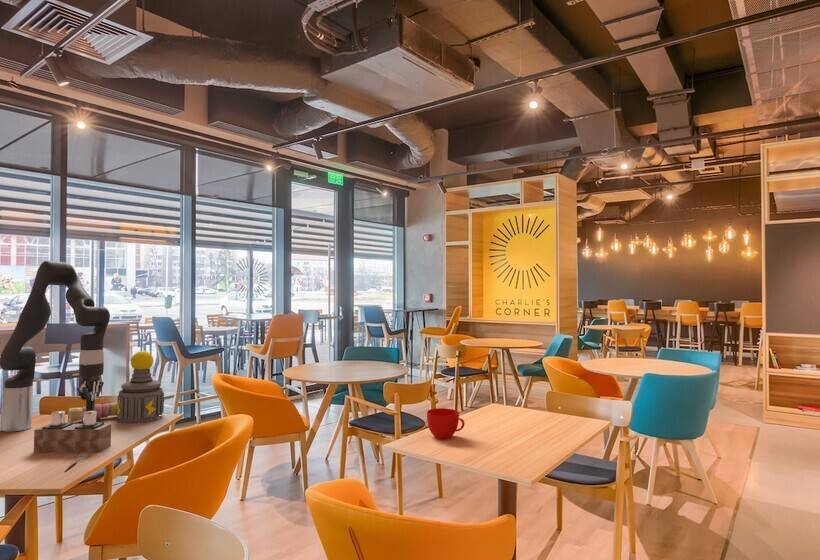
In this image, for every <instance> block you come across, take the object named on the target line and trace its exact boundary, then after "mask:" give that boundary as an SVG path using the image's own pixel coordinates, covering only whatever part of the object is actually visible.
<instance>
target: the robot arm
mask: <svg viewBox="0 0 820 560" xmlns="http://www.w3.org/2000/svg"><path fill="white" fill-rule="evenodd" d="M49 286H61V287H62V286H65V287H67V290H66V293H65V299H66V302H67V303H68V305H69V306H70V308H71V309H72V310H73V313H74V317H75V318H74V319H75V322H76V324H77V325H79V326H80V327H94V328H93V330H92V331H90V332H86V333H83V334H82V335H81V336H80V348H79V349H80V351H79V359H78V361H79V362H78V376H79V377H81V378H82V379H81V386H79V387H77V393H78V394H79V396H80V398H81V400H82V401H85V406H86V411H93V410H94V409H95V404H96V401H95V400H97V398H98V397H99V396H100V394H101V391H102V389H103V387H104V381H101V376H103V375H104V370H105V369H104V365H105V363H104V361H105V355H104V354H105V353H104V338H105V336H106V335H105V334H106V330H107V328H108V325H109V323H110V319H111V314H110V311H109V309H108V308H107V307H105V306H95V300H94V299H93V298H92V297H91V295H90V294H89V293H88V291H86V290H85V288H84V286H83V284H82V282H81V279H80V277H79V276H78V273H77V271H76V269H75V268H74V266H73V265H72V264H70V263H69V262H65V261H55V260H53V261H52V260H44V261H43V262H41V264H39V267H38V269H37V272H36V274H35V278H34V280H33V284H32V288H31V290H30V293H29V296H28V298H27V300H26V302H25V304H24V307H23V308H22V310H21V313H20V316H19V318H18V320H17V322H16V325H15V328H14V329H13V331H12V334H11V336H10V338H9V339H8V341H7V342H6V344H5V346H4V348H3V350H2V352H1V353H0V368H1V370H3V371H8V372H11V371H18V372H17V373H16V374H15V375H14V376H12V377H9V378H7V379H6V380H5V381H4V386H3V387H4V390H3V406H1V407H0V431H1V432H7V433H9V432H20V431H25V430H28V429H31V428H32V415H33V414H32V413H33V411H32V410H33V389H34V387H33V385H34V384H33V382H34V379H35V375H36V374H35V373H36V372H35V369H36V365H37V364H36V363H37V361H36V360H37V355H36V354H37V353H36V351H35V349H34V348H33V347H32V346H25V345H26V344H27V343H28V342H29V341H31V339H33V338H34V337H36V336H37V335H38V334H39V333H41V332H42V331H43V330H44V329H45V327H46V326H47V323H48V322H49V319H50V317H51V315H52V309H51V305H50V303H49V301H48V299H47V295H46V291H47V288H48V287H49Z"/></svg>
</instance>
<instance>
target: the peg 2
mask: <svg viewBox="0 0 820 560" xmlns="http://www.w3.org/2000/svg"><path fill="white" fill-rule="evenodd" d="M96 416H97V412H96V411H88V412H84V413H83V421H82V424H83V427H93V426H95V425H96V423H97V421H96Z"/></svg>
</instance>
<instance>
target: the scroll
mask: <svg viewBox="0 0 820 560" xmlns="http://www.w3.org/2000/svg"><path fill="white" fill-rule="evenodd" d="M116 405H117V401H116V402H112V403H108V402H107V403H104V404H101V403H95V409H94V410H93V411H96V412H97V416H96V420H99V421H101V420H102V419H105V418H109V417H114V416H116V417H117V407H116ZM84 412H88V411H86V405H85V406H82V407H68V414H67V415H68V416H67V423H75V422H80V421H81V422H83V413H84ZM100 419H101V420H100Z"/></svg>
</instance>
